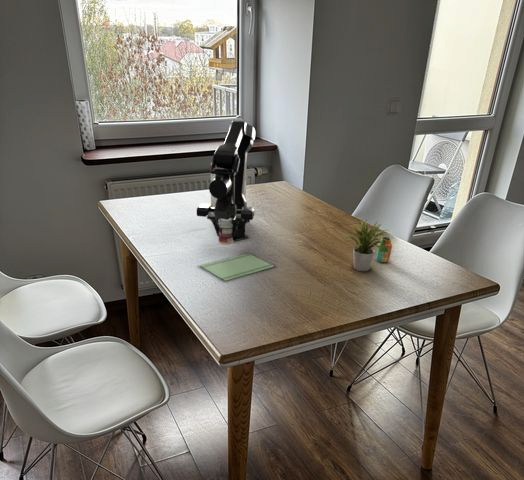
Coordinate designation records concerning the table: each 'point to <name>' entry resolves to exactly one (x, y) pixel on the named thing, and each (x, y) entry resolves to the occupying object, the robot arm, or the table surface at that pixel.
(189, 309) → the table surface
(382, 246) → the colorful patterned jar
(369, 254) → the house plant
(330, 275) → the table surface
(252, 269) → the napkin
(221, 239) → the pill bottle
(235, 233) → the robot arm
